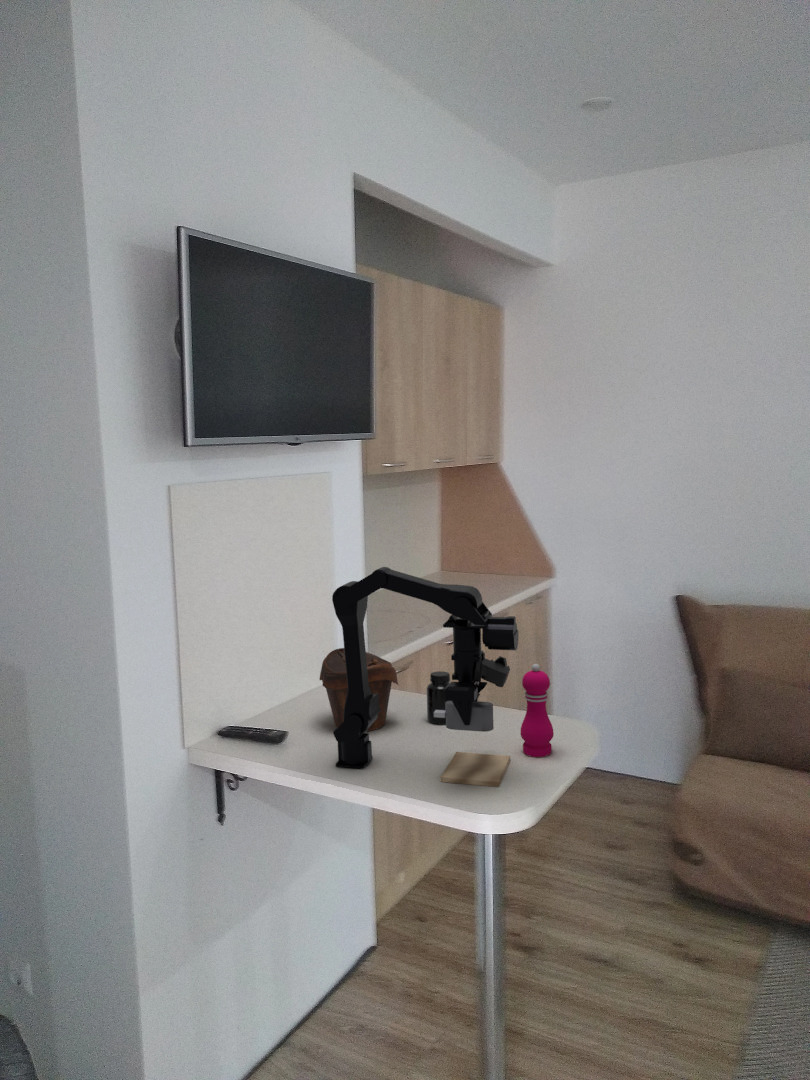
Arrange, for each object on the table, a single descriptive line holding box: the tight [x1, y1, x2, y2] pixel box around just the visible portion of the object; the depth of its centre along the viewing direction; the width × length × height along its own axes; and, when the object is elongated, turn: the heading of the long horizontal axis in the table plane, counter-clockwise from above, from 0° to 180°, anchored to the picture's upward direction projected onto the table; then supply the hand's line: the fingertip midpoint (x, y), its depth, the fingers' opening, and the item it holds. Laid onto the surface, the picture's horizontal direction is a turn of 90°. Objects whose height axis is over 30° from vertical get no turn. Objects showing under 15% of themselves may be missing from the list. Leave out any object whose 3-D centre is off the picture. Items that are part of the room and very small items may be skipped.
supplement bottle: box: [426, 670, 451, 725], centre depth 203 cm, size 7×7×12 cm
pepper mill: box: [520, 663, 554, 758], centre depth 180 cm, size 7×7×20 cm
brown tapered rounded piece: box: [319, 647, 399, 732], centre depth 202 cm, size 18×20×18 cm
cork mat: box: [440, 751, 511, 788], centre depth 172 cm, size 12×14×1 cm
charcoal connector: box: [434, 700, 495, 733], centre depth 170 cm, size 12×4×5 cm, turn 73°
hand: (469, 721), depth 170 cm, fingers closed on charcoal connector, 4 cm apart
